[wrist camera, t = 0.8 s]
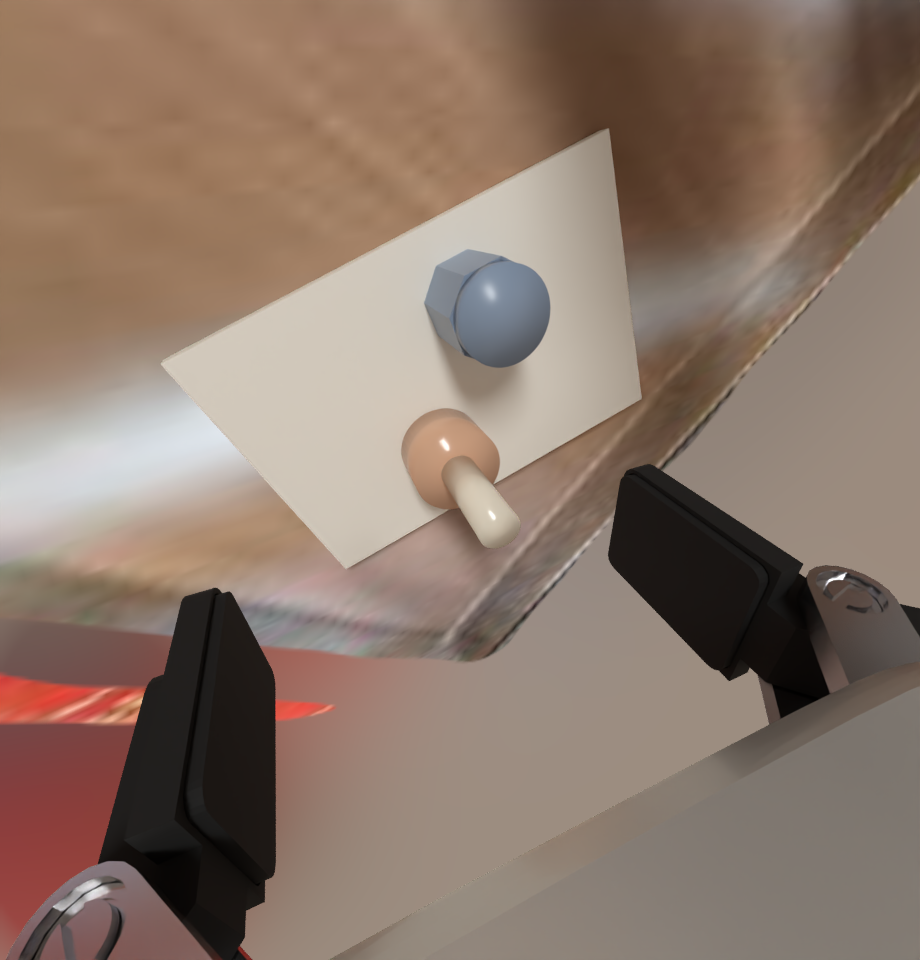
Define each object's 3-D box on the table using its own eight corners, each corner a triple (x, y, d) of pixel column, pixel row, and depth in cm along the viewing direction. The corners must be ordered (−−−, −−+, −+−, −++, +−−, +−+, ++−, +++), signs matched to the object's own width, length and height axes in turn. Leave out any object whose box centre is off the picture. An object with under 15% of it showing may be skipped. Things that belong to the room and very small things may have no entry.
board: (598, 130, 27) (608, 128, 26) (634, 394, 39) (641, 398, 38) (163, 359, 25) (160, 364, 24) (344, 561, 37) (345, 569, 36)
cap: (489, 237, 27) (536, 243, 22) (514, 319, 30) (559, 339, 25) (413, 278, 26) (443, 293, 22) (446, 356, 30) (479, 384, 25)
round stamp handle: (461, 393, 31) (533, 463, 23) (489, 456, 35) (559, 537, 27) (386, 435, 31) (429, 523, 22) (422, 495, 35) (471, 589, 26)
